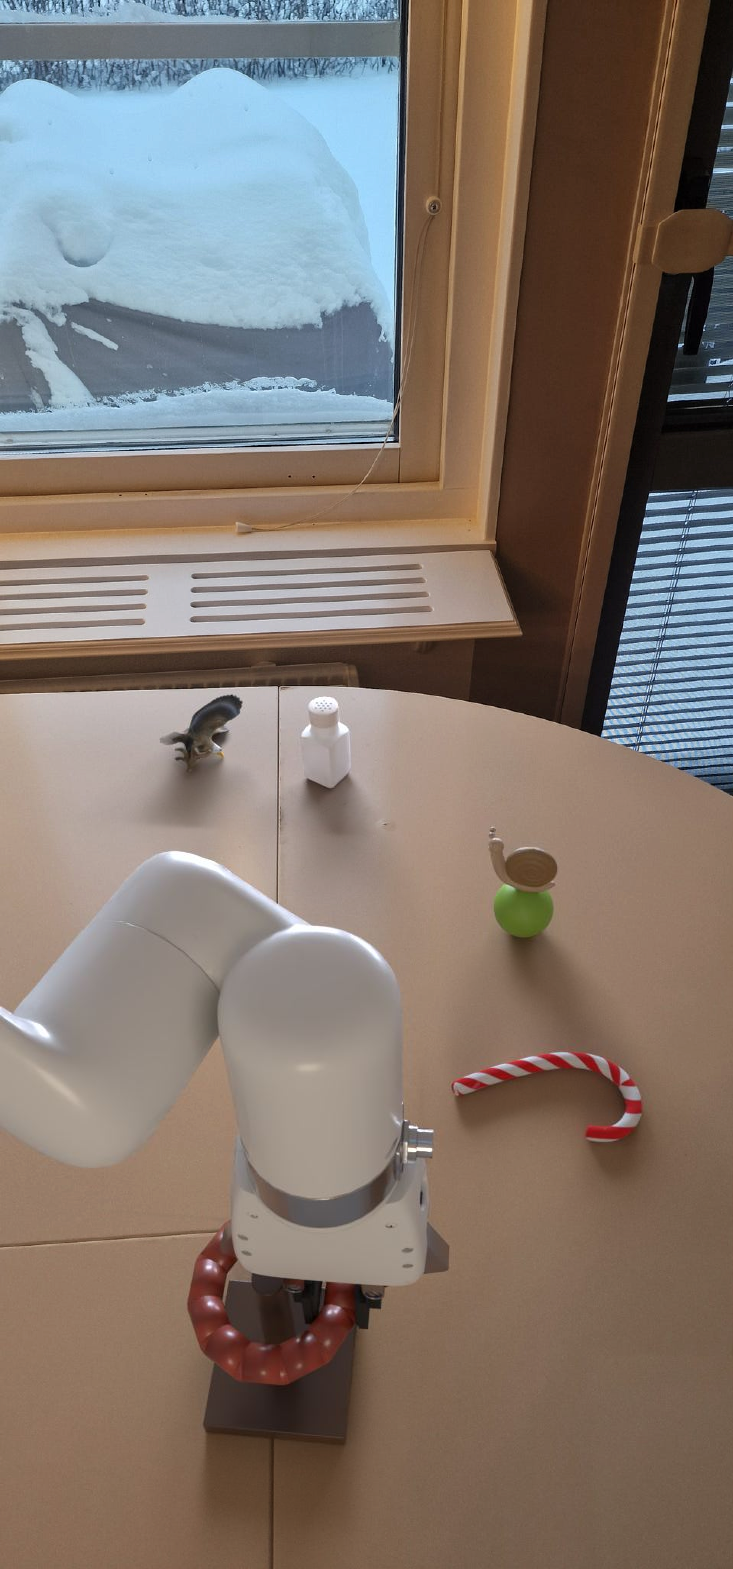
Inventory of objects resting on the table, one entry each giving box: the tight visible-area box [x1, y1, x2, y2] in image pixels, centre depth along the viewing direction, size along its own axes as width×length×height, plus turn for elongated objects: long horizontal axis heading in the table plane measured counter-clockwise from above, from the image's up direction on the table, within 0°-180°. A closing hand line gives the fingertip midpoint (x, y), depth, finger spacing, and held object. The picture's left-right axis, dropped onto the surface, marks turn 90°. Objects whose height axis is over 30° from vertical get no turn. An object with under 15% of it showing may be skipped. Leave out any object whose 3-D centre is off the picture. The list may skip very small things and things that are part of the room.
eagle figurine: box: [159, 694, 244, 774], centre depth 114 cm, size 8×7×9 cm
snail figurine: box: [487, 826, 559, 938], centre depth 93 cm, size 5×6×12 cm
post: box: [202, 1272, 357, 1446], centre depth 65 cm, size 9×9×14 cm
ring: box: [186, 1220, 356, 1385], centre depth 61 cm, size 10×10×2 cm
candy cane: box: [451, 1051, 643, 1143], centre depth 83 cm, size 8×1×15 cm
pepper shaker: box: [300, 696, 352, 789], centre depth 110 cm, size 4×4×10 cm
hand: (339, 1299), depth 61 cm, fingers closed on ring, 2 cm apart
